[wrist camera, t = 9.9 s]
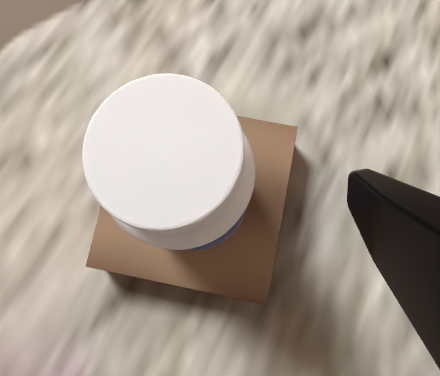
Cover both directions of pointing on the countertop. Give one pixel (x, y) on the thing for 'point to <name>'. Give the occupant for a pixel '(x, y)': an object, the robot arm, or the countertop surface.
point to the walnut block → (226, 251)
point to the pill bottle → (170, 162)
